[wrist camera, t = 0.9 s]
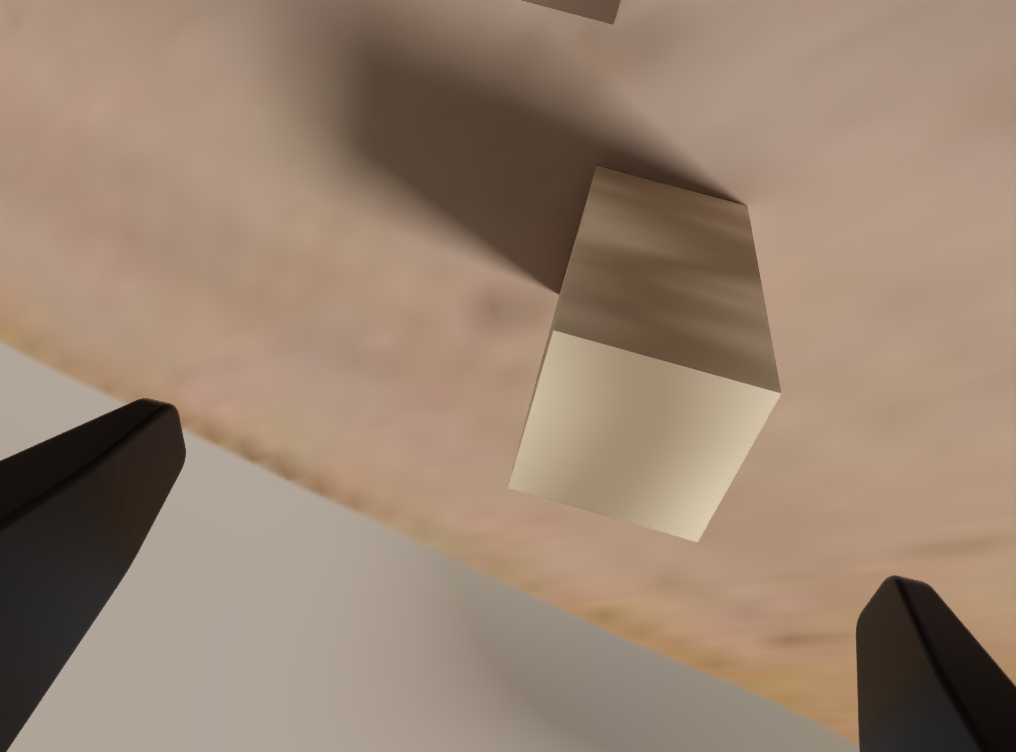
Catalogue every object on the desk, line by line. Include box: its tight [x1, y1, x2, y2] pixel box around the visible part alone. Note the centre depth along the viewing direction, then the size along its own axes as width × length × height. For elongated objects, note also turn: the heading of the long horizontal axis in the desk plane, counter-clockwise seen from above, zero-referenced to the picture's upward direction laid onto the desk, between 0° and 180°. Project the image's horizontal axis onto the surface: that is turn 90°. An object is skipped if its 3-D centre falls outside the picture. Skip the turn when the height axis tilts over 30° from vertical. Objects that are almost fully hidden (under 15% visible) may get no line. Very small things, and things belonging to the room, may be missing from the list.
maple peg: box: [508, 165, 781, 542], centre depth 17 cm, size 4×4×8 cm
